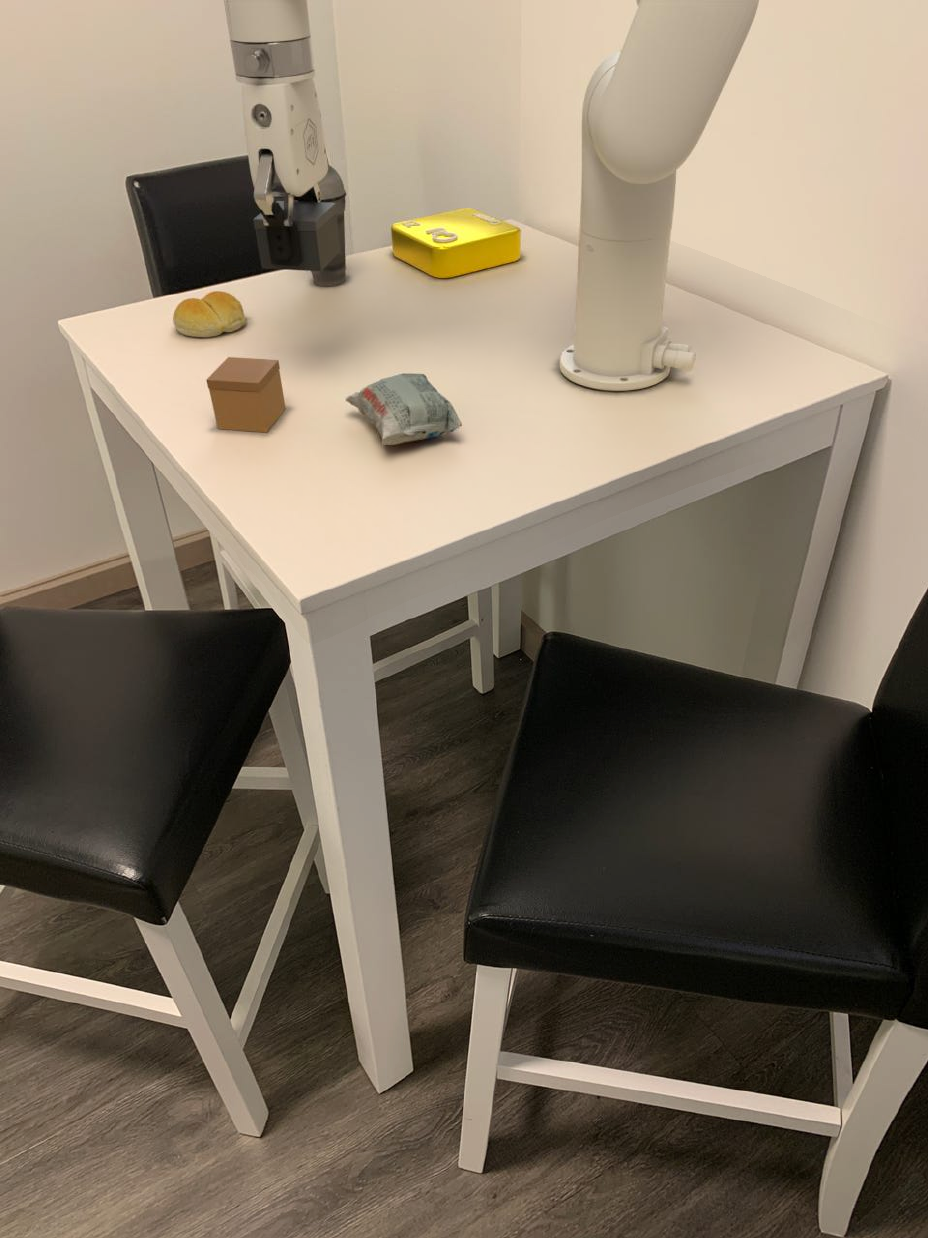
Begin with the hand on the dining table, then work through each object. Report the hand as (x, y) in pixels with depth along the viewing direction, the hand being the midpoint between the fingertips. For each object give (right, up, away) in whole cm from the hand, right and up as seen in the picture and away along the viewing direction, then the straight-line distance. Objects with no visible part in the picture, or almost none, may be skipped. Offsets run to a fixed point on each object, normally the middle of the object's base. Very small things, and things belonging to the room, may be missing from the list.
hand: (298, 251), depth 99 cm
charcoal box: (0, -1, 0) cm, 1 cm away
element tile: (+17, +15, +40) cm, 45 cm away
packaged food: (+11, -20, -2) cm, 23 cm away
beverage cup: (-1, +9, +33) cm, 34 cm away
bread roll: (-15, -1, +21) cm, 26 cm away
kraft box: (-5, -18, +1) cm, 18 cm away
